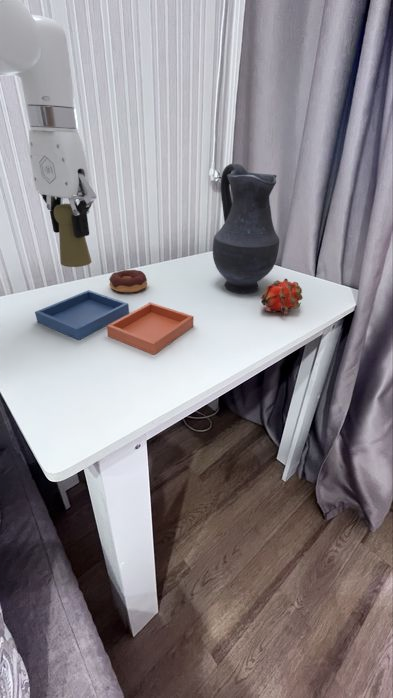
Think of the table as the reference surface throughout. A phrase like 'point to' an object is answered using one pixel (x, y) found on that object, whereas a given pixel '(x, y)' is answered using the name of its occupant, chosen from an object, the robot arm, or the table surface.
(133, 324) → the terracotta tray
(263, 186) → the pitcher
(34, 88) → the robot arm
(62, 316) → the blue tray
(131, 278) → the donut
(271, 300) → the dragon fruit
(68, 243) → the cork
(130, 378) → the table surface
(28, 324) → the table surface
